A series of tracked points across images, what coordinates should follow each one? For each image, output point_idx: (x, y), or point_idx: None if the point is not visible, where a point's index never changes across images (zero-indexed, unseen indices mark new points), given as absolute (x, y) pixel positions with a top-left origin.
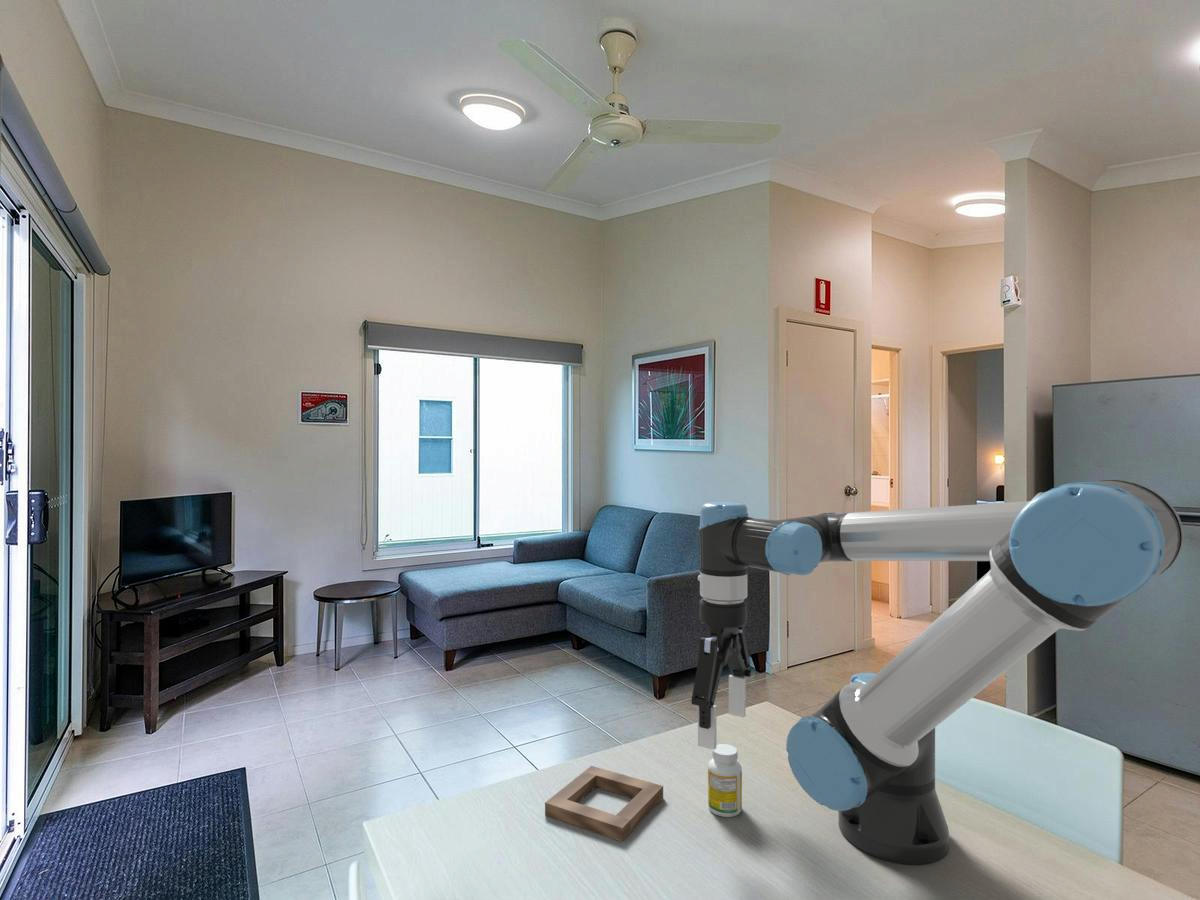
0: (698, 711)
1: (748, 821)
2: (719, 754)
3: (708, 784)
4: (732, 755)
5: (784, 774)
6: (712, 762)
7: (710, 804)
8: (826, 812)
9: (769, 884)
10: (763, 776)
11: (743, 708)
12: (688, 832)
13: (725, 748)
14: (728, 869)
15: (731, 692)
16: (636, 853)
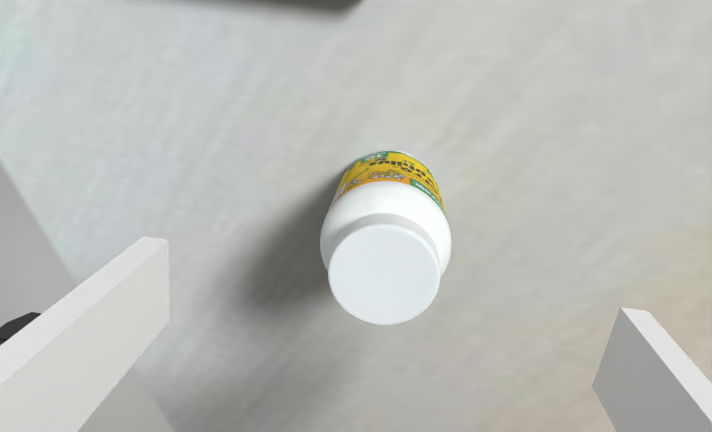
0: (5, 345)
1: None
2: (329, 264)
3: (361, 171)
4: (347, 311)
5: None
6: (359, 210)
7: (350, 167)
8: (468, 428)
9: None
10: (629, 270)
11: (611, 421)
12: (227, 127)
13: (396, 277)
14: None
15: (687, 421)
16: (63, 17)
